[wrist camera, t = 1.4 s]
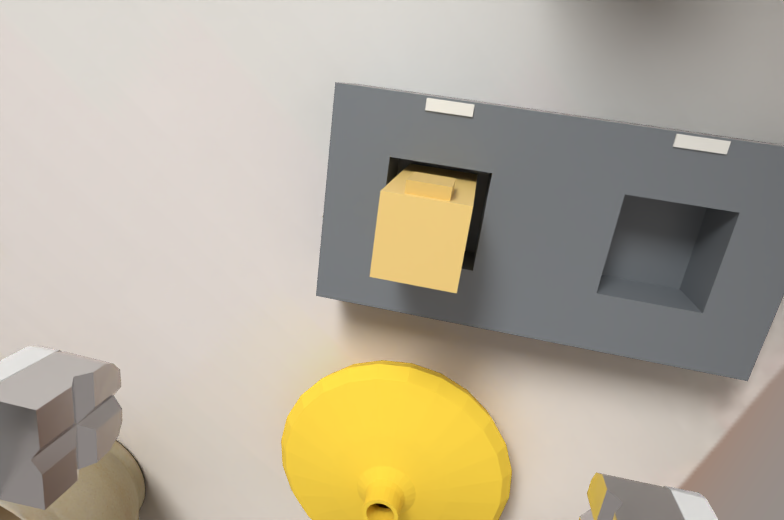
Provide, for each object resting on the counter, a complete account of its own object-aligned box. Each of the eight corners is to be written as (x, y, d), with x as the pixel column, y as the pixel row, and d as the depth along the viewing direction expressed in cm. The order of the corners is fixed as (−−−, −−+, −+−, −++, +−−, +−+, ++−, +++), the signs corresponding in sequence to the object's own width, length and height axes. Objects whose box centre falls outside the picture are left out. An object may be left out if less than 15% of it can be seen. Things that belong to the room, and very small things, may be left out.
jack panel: (354, 83, 30) (334, 82, 26) (793, 146, 27) (843, 155, 23) (335, 273, 34) (315, 296, 30) (716, 346, 31) (748, 381, 27)
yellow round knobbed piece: (533, 371, 34) (544, 438, 27) (484, 549, 39) (484, 642, 32) (305, 321, 36) (264, 372, 29) (287, 497, 41) (249, 575, 34)
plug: (411, 153, 30) (382, 176, 22) (479, 164, 30) (475, 192, 21) (401, 228, 32) (369, 276, 23) (465, 239, 31) (456, 293, 23)
